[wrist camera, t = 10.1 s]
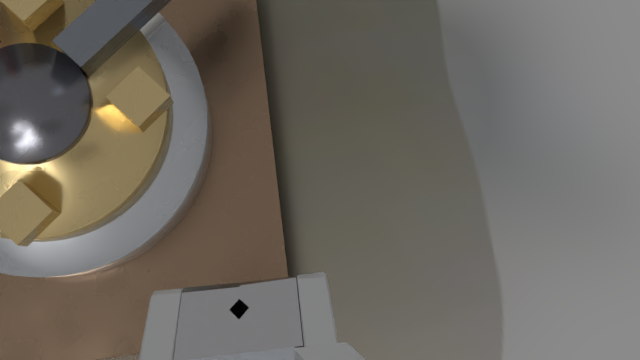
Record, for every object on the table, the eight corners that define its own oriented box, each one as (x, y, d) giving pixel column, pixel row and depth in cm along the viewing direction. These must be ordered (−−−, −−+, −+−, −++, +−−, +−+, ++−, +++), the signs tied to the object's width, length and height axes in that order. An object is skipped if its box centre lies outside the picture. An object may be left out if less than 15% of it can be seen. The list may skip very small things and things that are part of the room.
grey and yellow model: (44, 295, 25) (-96, 308, 15) (-140, 123, 25) (-395, 26, 15) (331, 5, 28) (368, -138, 18) (165, -142, 29) (116, -359, 19)
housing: (-130, 388, 27) (-199, 408, 23) (-133, 27, 30) (-196, -13, 26) (293, 330, 30) (298, 338, 26) (255, 0, 32) (254, -40, 28)
